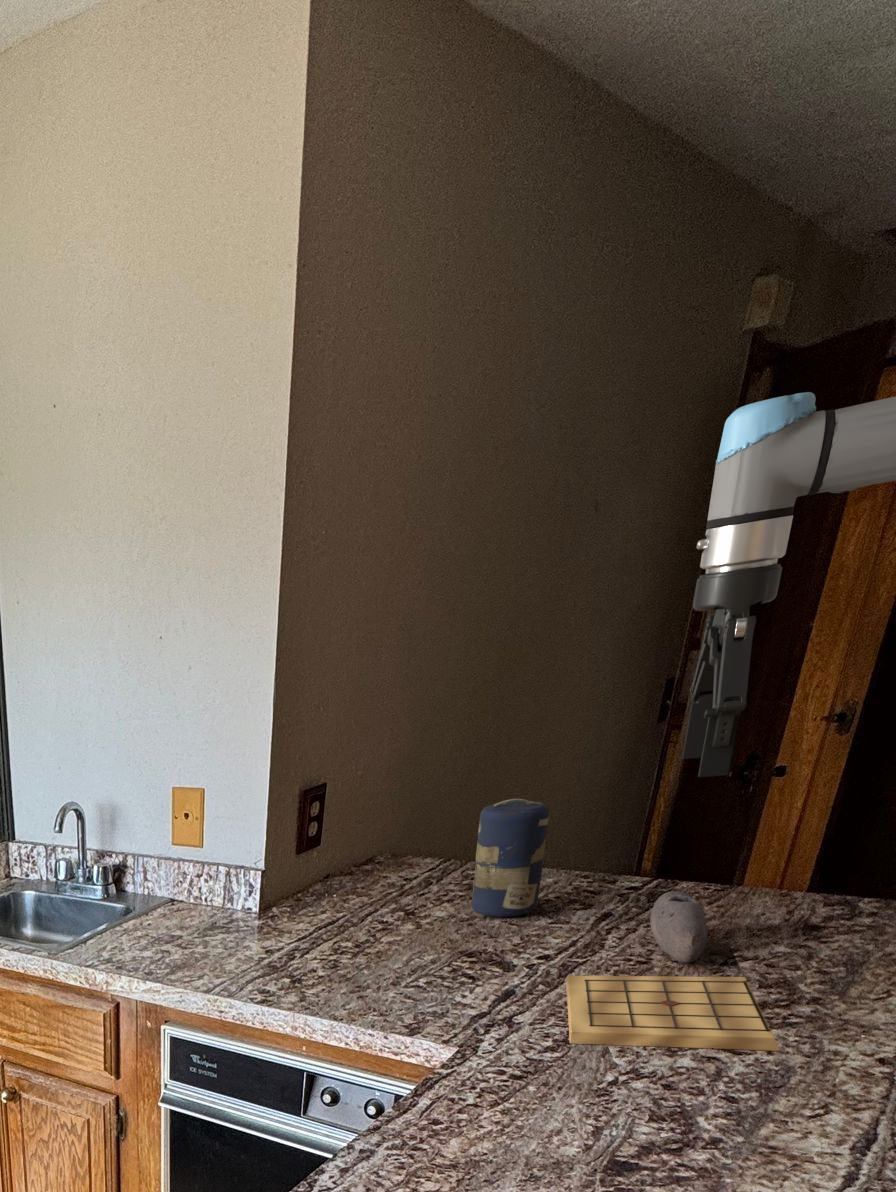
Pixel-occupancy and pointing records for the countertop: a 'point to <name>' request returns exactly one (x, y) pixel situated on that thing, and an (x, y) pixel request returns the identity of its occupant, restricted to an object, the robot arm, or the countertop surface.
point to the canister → (509, 857)
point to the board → (666, 1012)
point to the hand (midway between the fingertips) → (703, 766)
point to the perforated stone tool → (679, 926)
